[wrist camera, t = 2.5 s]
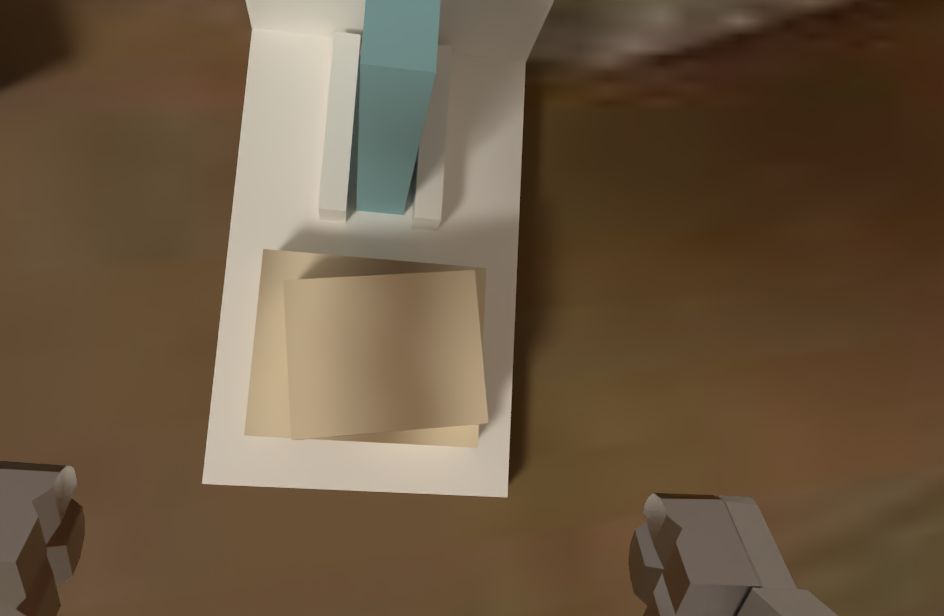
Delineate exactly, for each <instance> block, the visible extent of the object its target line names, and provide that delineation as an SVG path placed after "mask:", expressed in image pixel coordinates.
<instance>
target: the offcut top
mask: <svg viewBox="0 0 944 616" xmlns="http://www.w3.org/2000/svg"><path fill="white" fill-rule="evenodd" d="M283 286H284V306H285V326H286V346H287V366H288V386H289V406H290V426H291V440H304V439H315V438H327V437H338V436H350V435H362V434H373V433H385V432H396V431H408V430H420V429H431V428H443V427H454V426H466V425H477V424H485V423H488V411H487V400H486V389H485V378H484V367H483V356H482V344H481V333H480V322H479V311H478V300H477V288H476V277H475V270H463V271H444V272H426V273H407V274H388V275H370V276H351V277H332V278H314V279H295V280H283Z"/></svg>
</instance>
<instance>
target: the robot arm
mask: <svg viewBox="0 0 944 616" xmlns="http://www.w3.org/2000/svg"><path fill="white" fill-rule="evenodd" d="M77 485H78V484H77V480H76V476H75V472H74V468H73V467H70V466H65V465H51V464H37V463H23V462H9V461H0V616H56V615H57V613H58V611H59V608H60V606H61V604H60V600H59V596H58V592H57V588H58V587H59V586H60V585H62V584H63V583H64V582H66V581H67V580H68V579H69V578H71V577H72V576H73V574H74V571H75V569H76V566H77V564H78V561H79V559H80V555H81V550H82V545H83V540H84V536H85V519H84V513H83V508H82V506H81V505H79V504H78V503H77V502H76V501H74V500H73V499H72V496H73V494H74V492H75V489H76V487H77ZM643 512H644V515H645V519H646V523H644V524H643V525H641V526H640V527H639V528H637V529H636V530H635V532H634V534H633V537H632V540H631V543H630V550H629V571H630V579H631V583H632V586H633V590H634V593H635V594H636V595H637V596H638V597H639V598H640V599H641V600H642V601H643V602H644V603H645V604H646V605H647V608H646V611H645V613H644V615H643V616H838V615H836V614H835V613H834V612H833V611H832V610H830V609H829V608H828V607H827V606H826V605H824V604H823V603H822V602H821V601H820V600H819V599H817V598H816V597H815V596H814V595H813V594H811V593H810V592H809V591H808V590H804V589H797V587H796V585H795V583H794V581H793V579H792V577H791V575H790V573H789V571H788V568H787V566H786V564H785V562H784V560H783V558H782V556H781V554H780V552H779V550H778V547H777V545H776V543H775V541H774V539H773V537H772V535H771V533H770V531H769V529H768V527H767V524H766V522H765V520H764V518H763V516H762V514H761V512H760V510H759V508H758V506H757V504H756V502H755V501H754V500H753V499H752V498H751V497H738V496H714V495H696V494H668V493H653V494H652V495H651V496H650V497H649V498H648V499H647V501H646V504H645V506H644V508H643Z"/></svg>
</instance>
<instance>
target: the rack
mask: <svg viewBox="0 0 944 616" xmlns="http://www.w3.org/2000/svg"><path fill="white" fill-rule="evenodd" d="M365 2H366V0H246V4H247V9H248V13H249V17H250V21H251V26H252V36H251V45H250V54H249V63H248V72H247V81H246V90H245V99H244V108H243V117H242V126H241V135H240V144H239V154H238V163H237V172H236V181H235V190H234V199H233V208H232V217H231V226H230V235H229V244H228V253H227V263H226V272H225V281H224V290H223V299H222V308H221V317H220V326H219V335H218V344H217V353H216V362H215V372H214V381H213V390H212V399H211V408H210V417H209V426H208V435H207V444H206V453H205V462H204V471H203V480H202V484H217V485H240V486H262V487H285V488H308V489H331V490H353V491H376V492H399V493H422V494H445V495H467V496H490V497H507V496H508V472H509V448H510V424H511V400H512V377H513V353H514V329H515V305H516V281H517V257H518V234H519V210H520V186H521V162H522V138H523V114H524V91H525V67H526V61H527V59H528V56H529V54H530V52H531V50H532V48H533V46H534V43H535V41H536V39H537V37H538V35H539V32H540V30H541V28H542V26H543V24H544V22H545V19H546V17H547V15H548V13H549V11H550V9H551V6H552V4H553V2H554V0H441V2H440V17H439V33H438V49H437V64H436V75H435V79H434V83H433V88H432V92H431V96H430V101H429V105H428V109H427V114H426V118H425V122H424V127H423V131H422V135H421V139H420V144H419V148H418V152H417V157H416V161H415V165H414V170H413V174H412V178H411V183H410V187H409V191H408V196H407V200H406V204H405V209H404V213H403V215H396V214H386V213H375V212H364V211H356V205H357V168H358V132H359V96H360V62H361V50H362V38H363V26H364V14H365ZM263 249H270V250H281V251H293V252H305V253H316V254H328V255H340V256H352V257H363V258H375V259H387V260H398V261H410V262H422V263H434V264H445V265H457V266H469V267H481V268H487V270H486V290H485V311H484V331H483V352H482V356H483V367H484V378H485V389H486V400H487V411H488V423H485V424H479V433H478V448H469V447H450V446H431V445H412V444H393V443H374V442H354V441H335V440H316V439H304V440H291V438H278V437H259V436H244V432H245V423H246V413H247V403H248V393H249V383H250V373H251V364H252V354H253V344H254V334H255V324H256V315H257V305H258V295H259V285H260V275H261V265H262V256H263Z"/></svg>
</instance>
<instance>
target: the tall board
mask: <svg viewBox="0 0 944 616" xmlns="http://www.w3.org/2000/svg"><path fill="white" fill-rule="evenodd" d="M440 2H441V0H366V2H365V14H364V26H363V38H362V50H361V62H360V96H359V132H358V168H357V205H356V211H364V212H375V213H386V214H396V215H403V213H404V209H405V204H406V200H407V196H408V191H409V187H410V183H411V178H412V174H413V170H414V165H415V161H416V157H417V152H418V148H419V144H420V139H421V135H422V131H423V127H424V122H425V118H426V114H427V109H428V105H429V101H430V96H431V92H432V88H433V83H434V79H435V75H436V64H437V49H438V33H439V17H440Z"/></svg>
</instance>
